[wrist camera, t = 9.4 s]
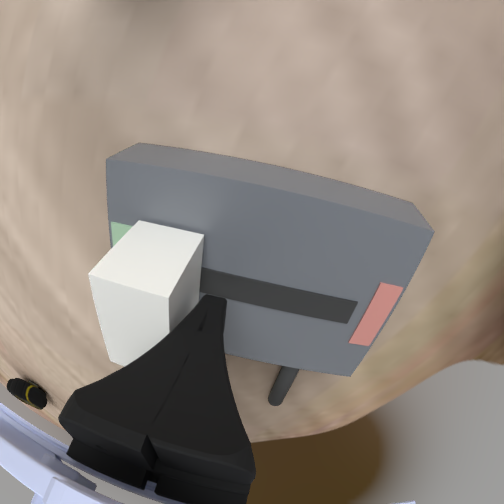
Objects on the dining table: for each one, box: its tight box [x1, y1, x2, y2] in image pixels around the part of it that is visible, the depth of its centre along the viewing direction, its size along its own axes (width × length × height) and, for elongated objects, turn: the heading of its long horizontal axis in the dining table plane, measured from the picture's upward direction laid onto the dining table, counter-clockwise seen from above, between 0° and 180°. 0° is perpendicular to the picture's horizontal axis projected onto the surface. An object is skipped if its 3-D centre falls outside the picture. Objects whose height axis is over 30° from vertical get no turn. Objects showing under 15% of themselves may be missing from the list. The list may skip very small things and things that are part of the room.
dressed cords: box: [268, 366, 299, 406], centre depth 21 cm, size 9×9×1 cm
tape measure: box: [7, 378, 47, 410], centre depth 35 cm, size 7×7×4 cm
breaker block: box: [106, 143, 434, 376], centre depth 15 cm, size 14×10×3 cm
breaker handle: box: [88, 220, 204, 366], centre depth 12 cm, size 3×5×4 cm, turn 170°
